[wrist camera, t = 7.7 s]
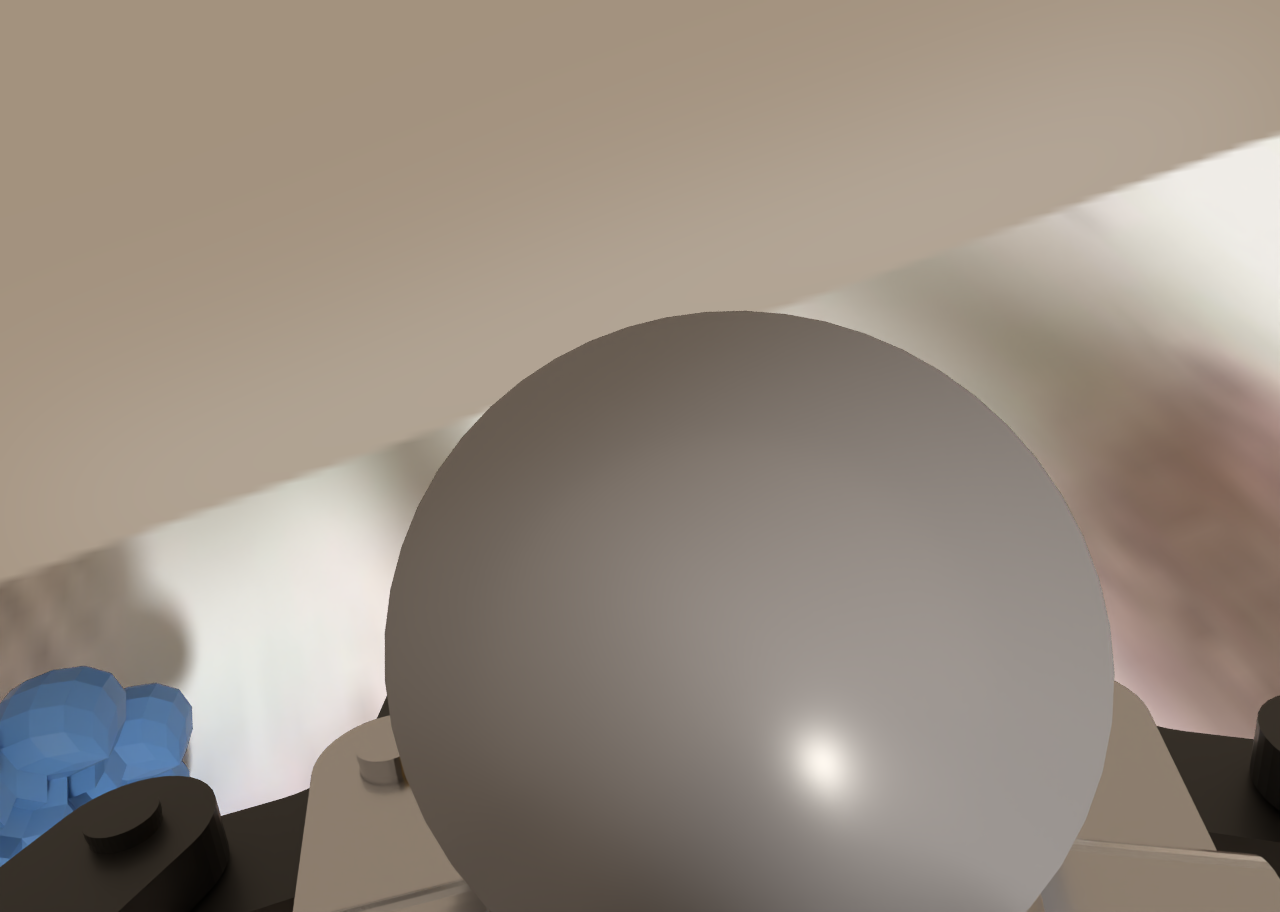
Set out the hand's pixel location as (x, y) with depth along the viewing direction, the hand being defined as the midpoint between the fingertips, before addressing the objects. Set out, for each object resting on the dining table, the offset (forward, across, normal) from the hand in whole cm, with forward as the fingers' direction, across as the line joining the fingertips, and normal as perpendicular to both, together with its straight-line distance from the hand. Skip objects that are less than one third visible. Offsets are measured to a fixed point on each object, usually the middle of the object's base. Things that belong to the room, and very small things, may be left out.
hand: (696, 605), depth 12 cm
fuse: (+3, 0, +5) cm, 6 cm away
